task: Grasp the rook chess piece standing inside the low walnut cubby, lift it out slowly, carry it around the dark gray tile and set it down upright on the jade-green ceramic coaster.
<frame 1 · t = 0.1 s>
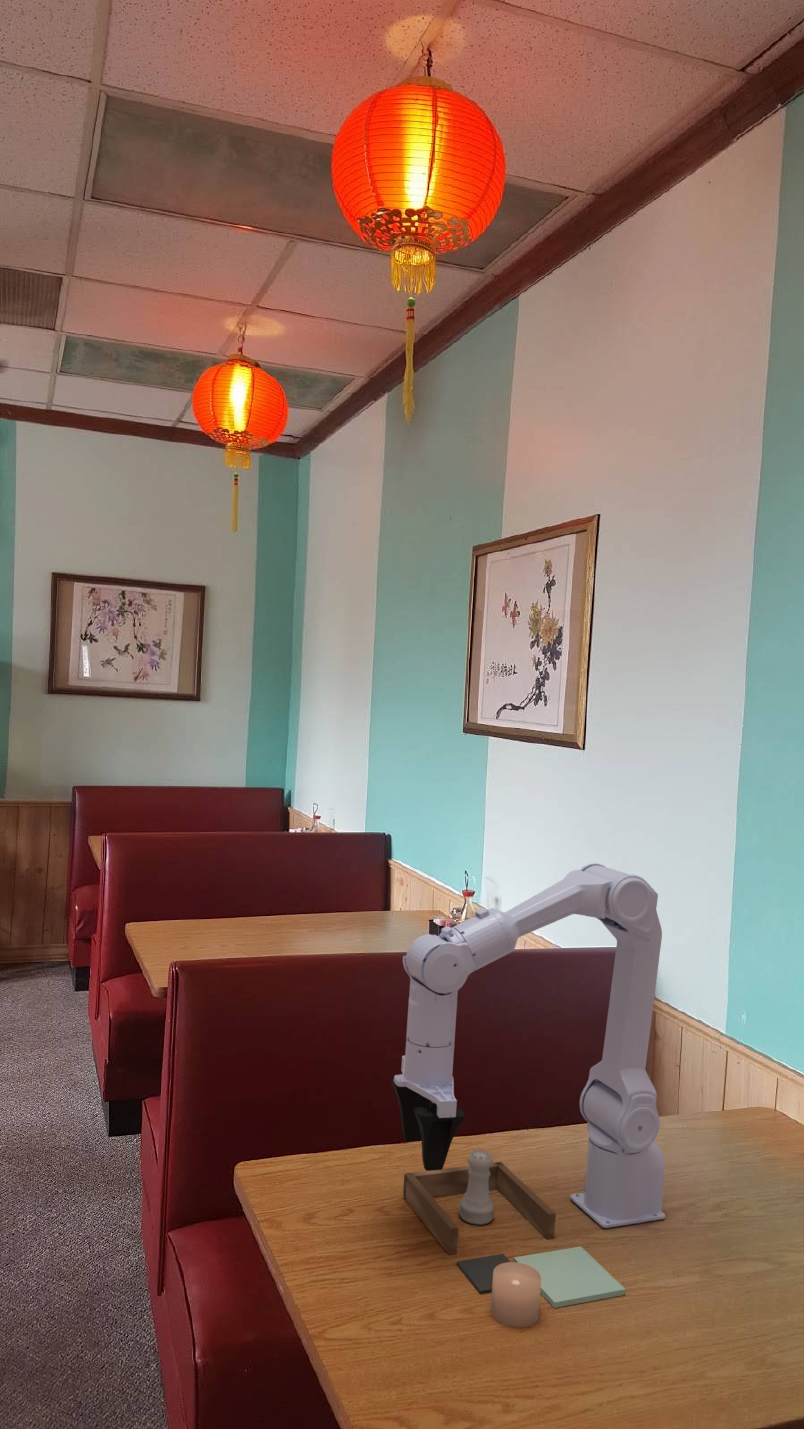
hand: (422, 1154, 118), 10 cm above the table, tool pointing down, fingers open, 7 cm apart
dark gray tile: (492, 1274, 112), on the table
cubby: (476, 1216, 125), on the table
peach short cylinder: (514, 1313, 105), on the table
rook chess piece: (476, 1218, 125), on the table
coaster: (568, 1278, 112), on the table
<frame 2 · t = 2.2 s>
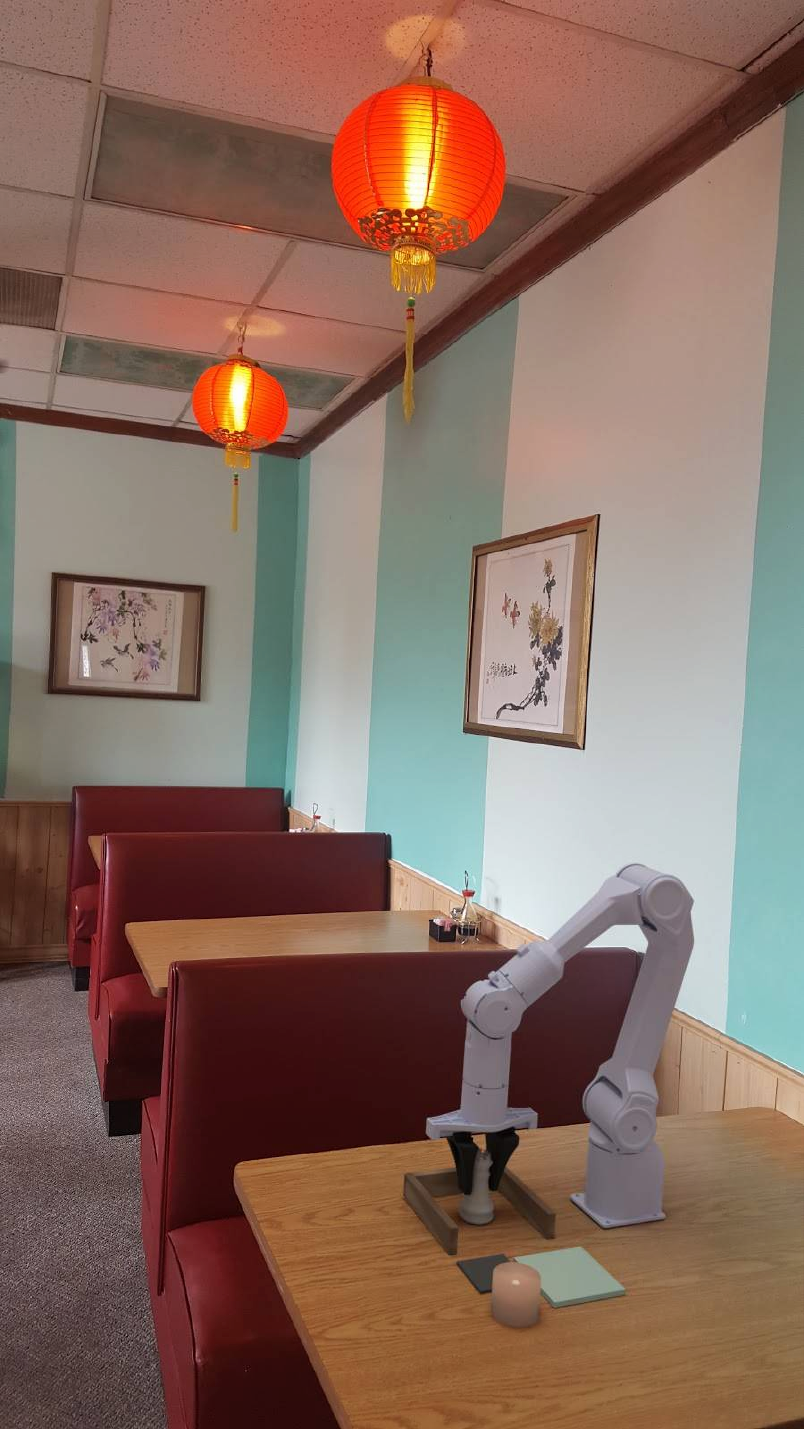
hand: (478, 1189, 125), 3 cm above the table, tool pointing down, fingers closed on rook chess piece, 3 cm apart
rook chess piece: (476, 1218, 125), on the table, touching gripper
everything else where it was.
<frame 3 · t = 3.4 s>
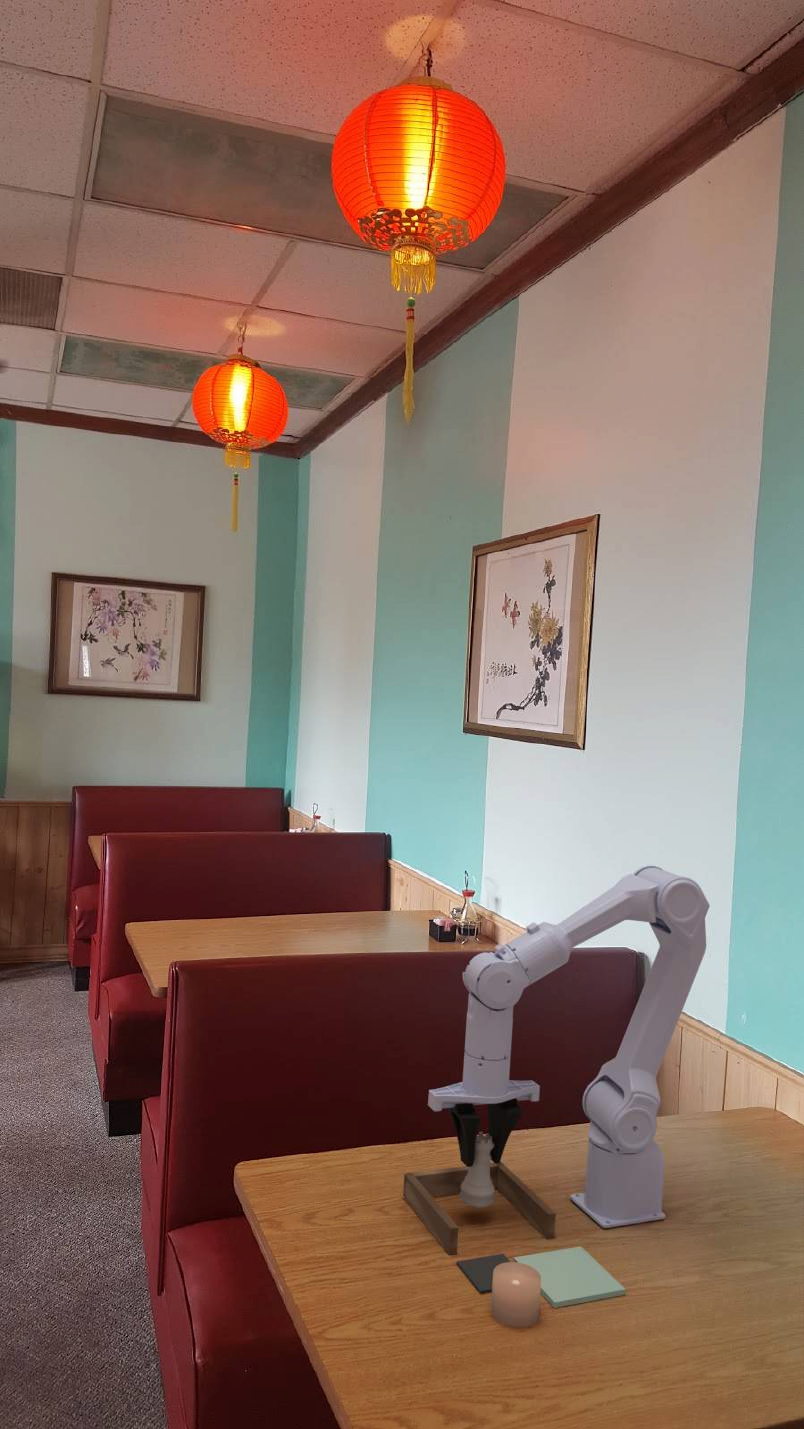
hand: (480, 1161, 125), 7 cm above the table, tool pointing down, fingers closed on rook chess piece, 3 cm apart
rook chess piece: (476, 1202, 124), point 2 cm above the table, touching gripper
everything else where it was.
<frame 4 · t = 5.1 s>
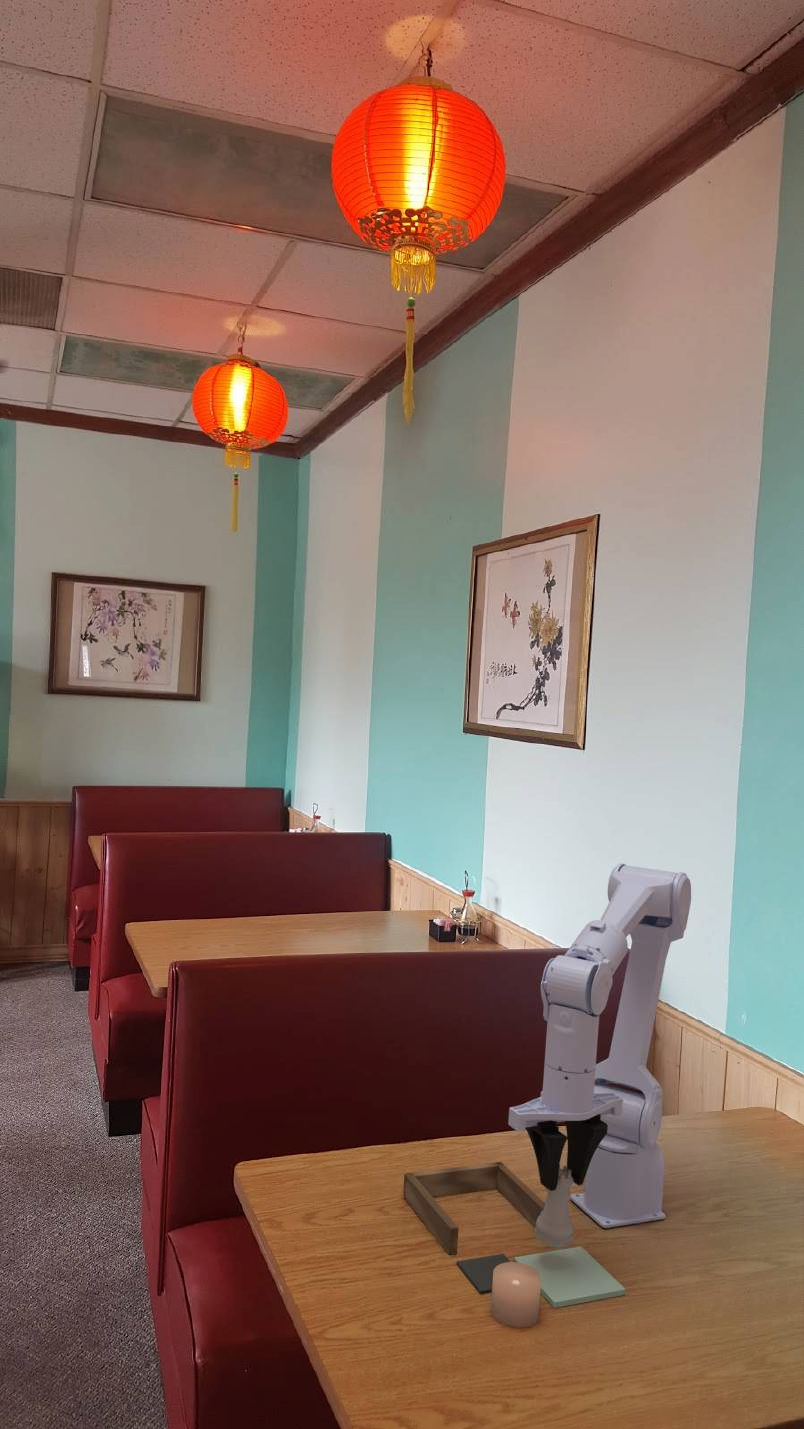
hand: (561, 1183, 113), 10 cm above the table, tool pointing down, fingers closed on rook chess piece, 3 cm apart
rook chess piece: (553, 1239, 114), point 3 cm above the table, touching gripper
everything else where it was.
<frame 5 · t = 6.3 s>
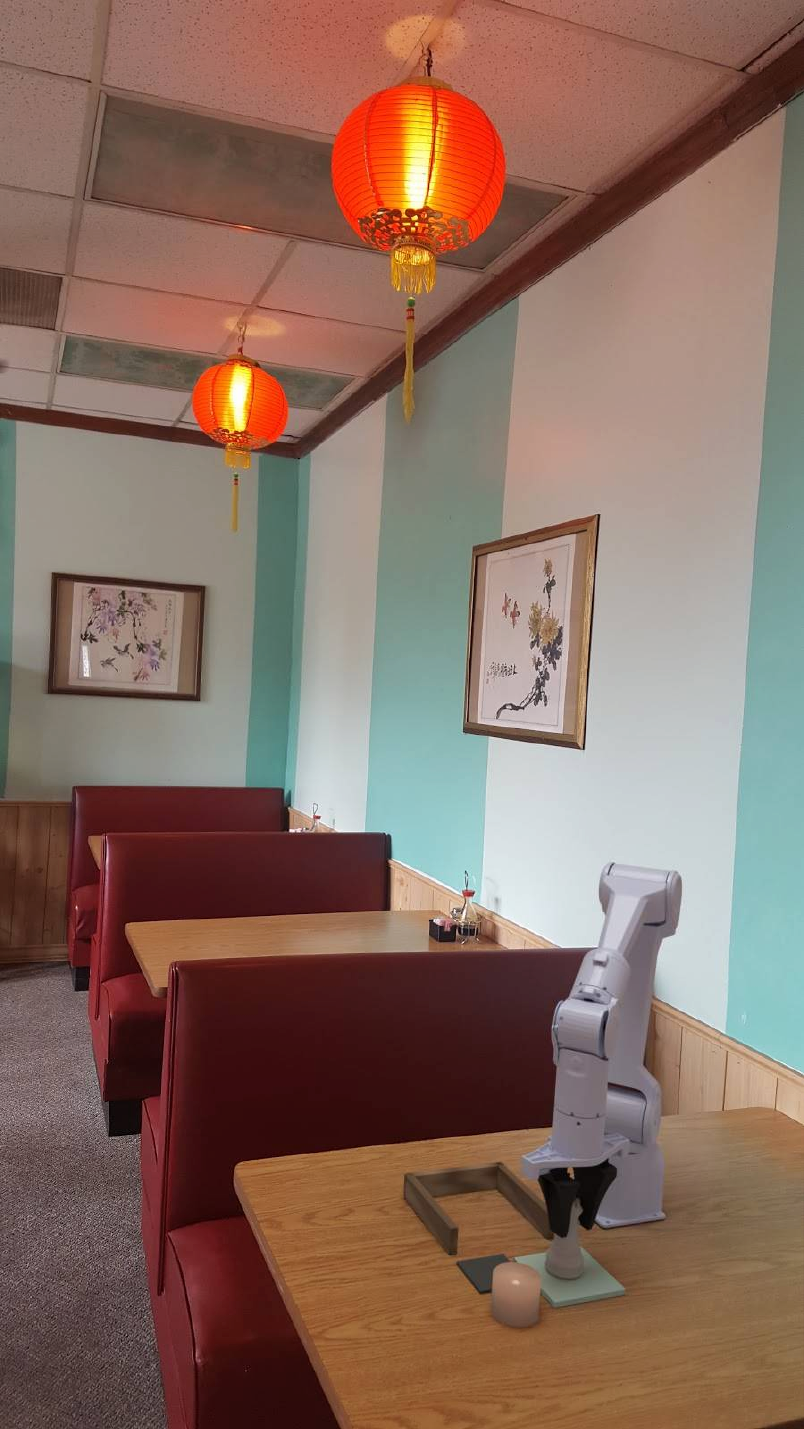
hand: (571, 1229, 112), 6 cm above the table, tool pointing down, fingers closed on rook chess piece, 3 cm apart
rook chess piece: (563, 1271, 113), resting on coaster, touching gripper
everything else where it was.
when the fingers open (5 cm above the table, at t = 6.8 s): rook chess piece stays where it is, resting on coaster.
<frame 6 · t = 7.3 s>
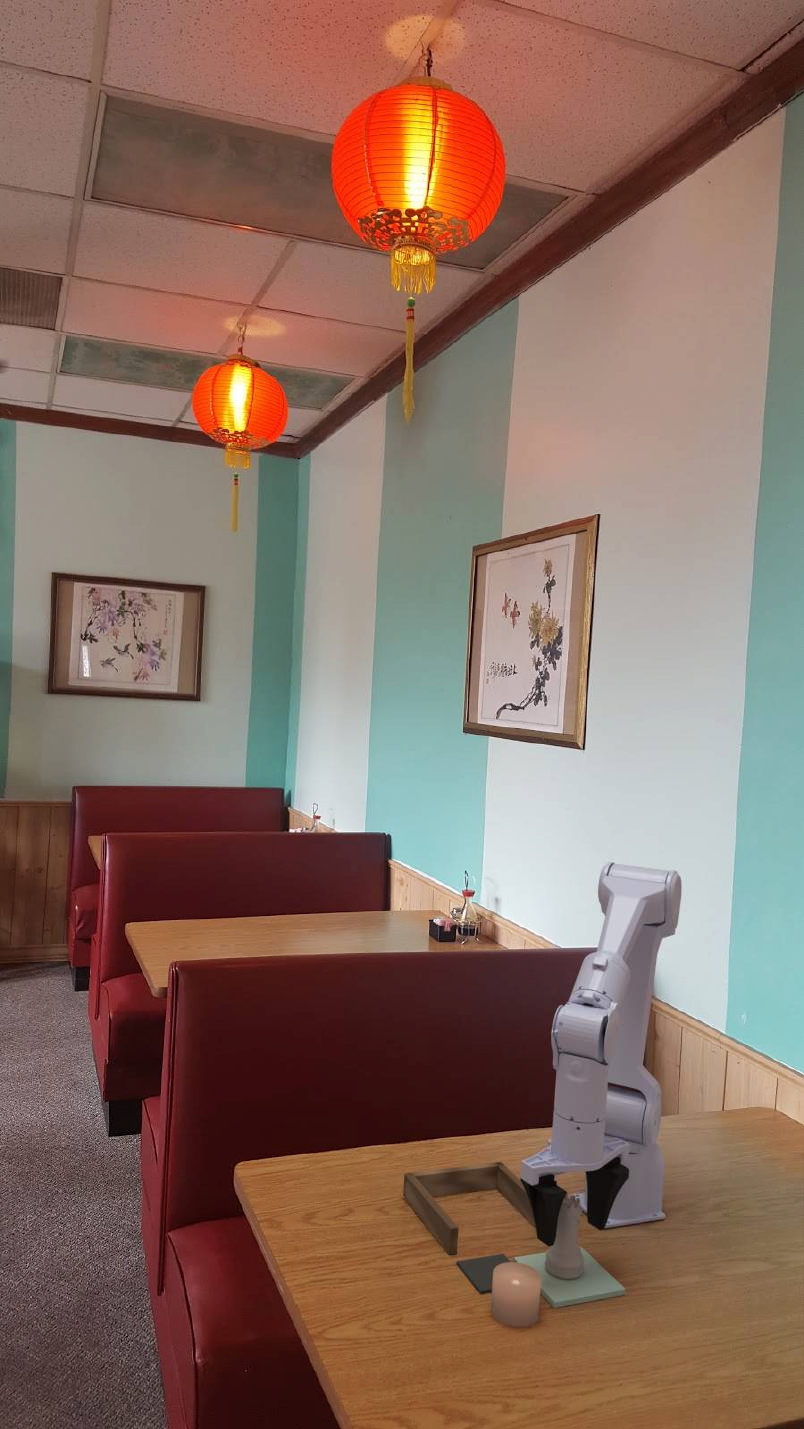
hand: (571, 1233, 112), 5 cm above the table, tool pointing down, fingers open, 7 cm apart
rook chess piece: (563, 1271, 113), resting on coaster
everything else where it was.
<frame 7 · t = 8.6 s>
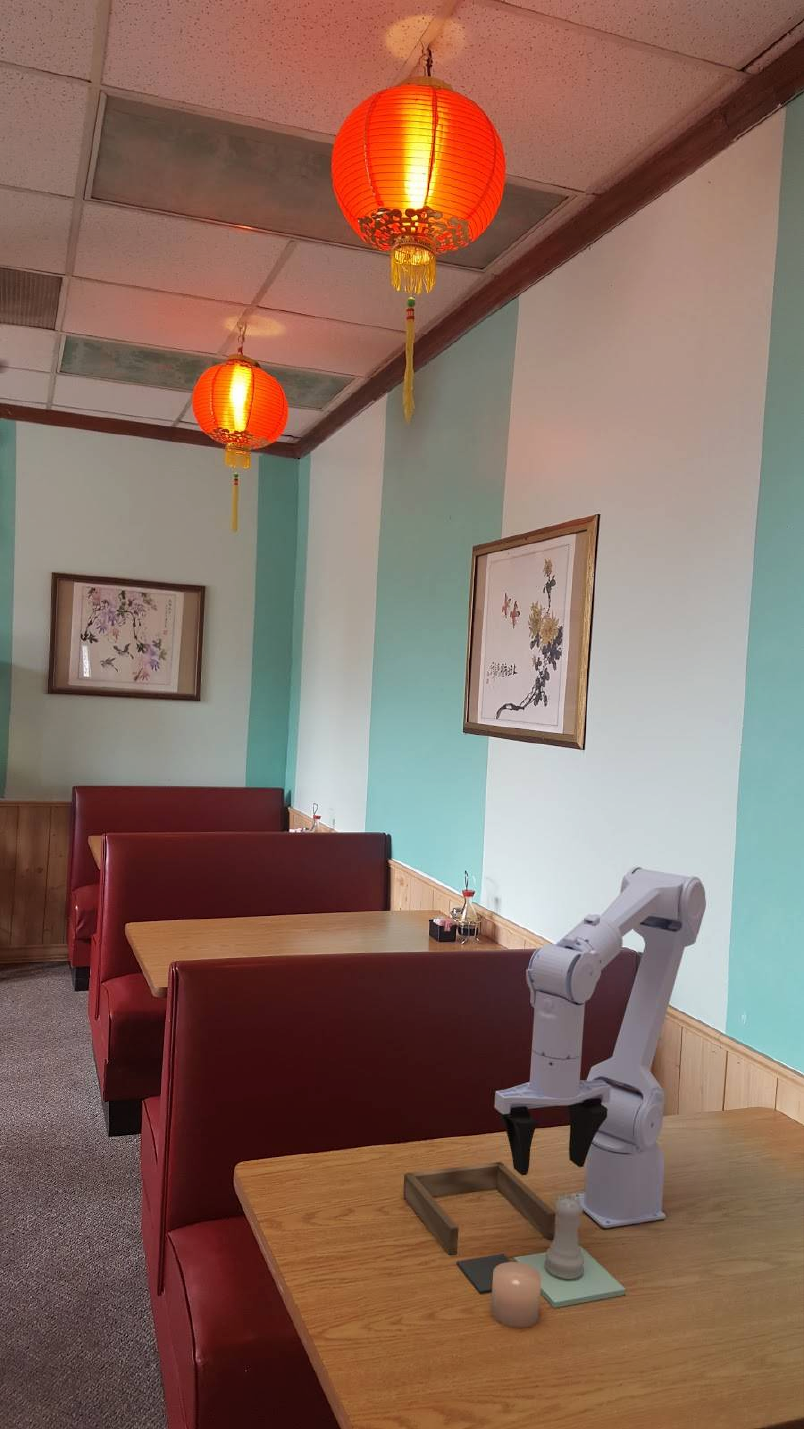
hand: (548, 1167, 117), 10 cm above the table, tool pointing down, fingers open, 7 cm apart
nothing on the table moved.
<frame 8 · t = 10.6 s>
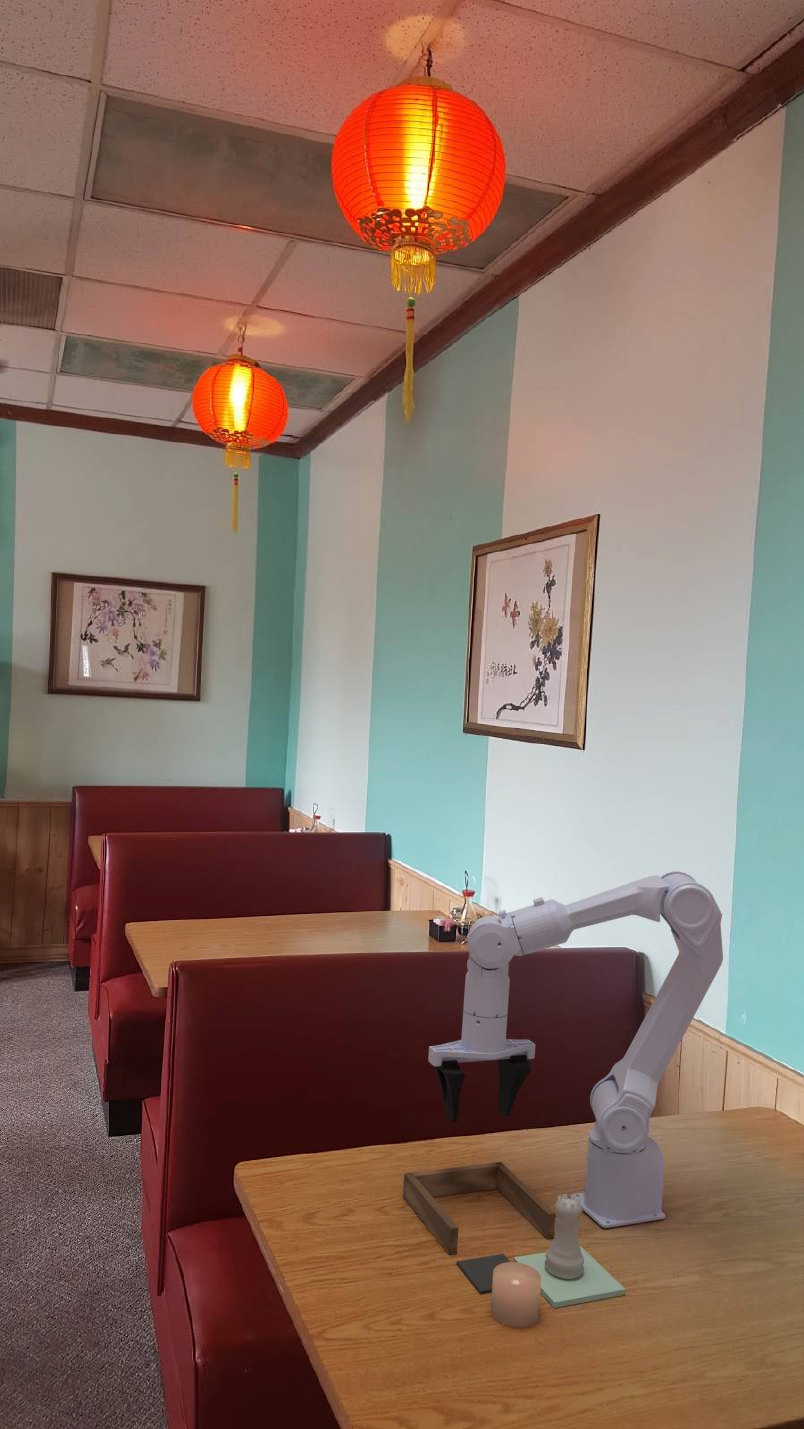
hand: (478, 1115, 130), 10 cm above the table, tool pointing down, fingers open, 7 cm apart
nothing on the table moved.
at the end: rook chess piece inside the target area on the coaster (0.6 cm from its centre), point 0.4 cm above the coaster's base; rook chess piece tilted 0°; the gripper is holding nothing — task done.
